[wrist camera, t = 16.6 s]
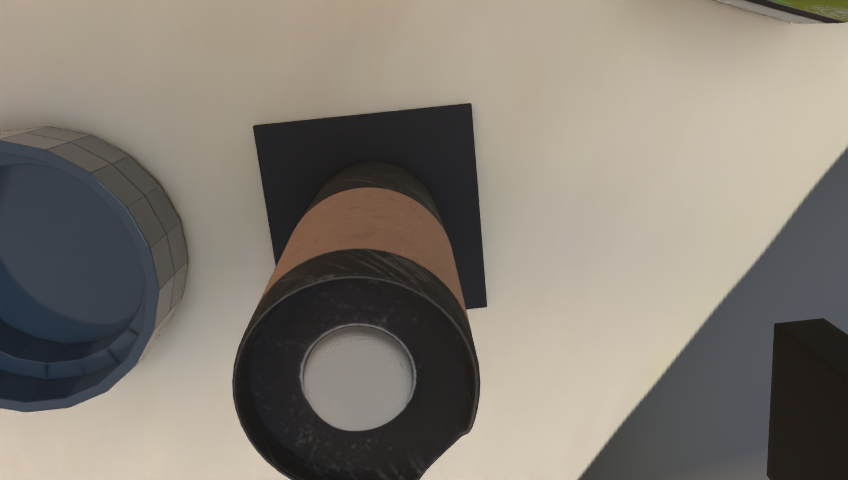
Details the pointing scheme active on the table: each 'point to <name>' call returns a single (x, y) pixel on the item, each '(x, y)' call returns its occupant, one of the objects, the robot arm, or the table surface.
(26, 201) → the bowl
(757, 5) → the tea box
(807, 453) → the robot arm
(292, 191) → the mat
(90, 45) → the table surface
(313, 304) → the travel mug
